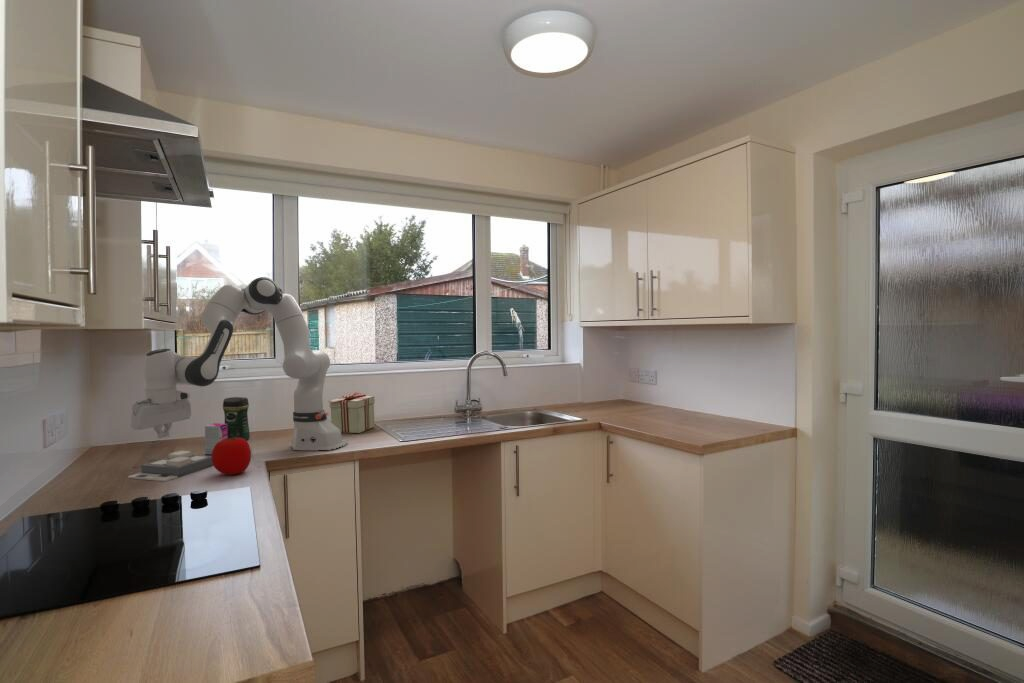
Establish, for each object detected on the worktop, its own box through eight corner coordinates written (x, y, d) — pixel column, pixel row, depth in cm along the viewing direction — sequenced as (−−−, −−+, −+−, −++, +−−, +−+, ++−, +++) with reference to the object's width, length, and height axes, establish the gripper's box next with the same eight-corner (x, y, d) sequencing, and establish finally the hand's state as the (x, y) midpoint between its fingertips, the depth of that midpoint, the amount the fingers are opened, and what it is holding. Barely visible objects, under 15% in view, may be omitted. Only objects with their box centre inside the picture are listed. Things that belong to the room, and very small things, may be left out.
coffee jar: (253, 438, 228) (251, 396, 227) (242, 442, 220) (240, 398, 219) (232, 437, 229) (230, 395, 228) (220, 442, 221) (219, 398, 220)
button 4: (208, 463, 185) (207, 456, 185) (196, 467, 181) (196, 460, 180) (196, 462, 187) (196, 455, 187) (184, 466, 182) (184, 459, 182)
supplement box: (219, 456, 198) (218, 426, 198) (204, 455, 199) (203, 426, 198) (228, 452, 204) (227, 423, 204) (214, 451, 205) (213, 422, 204)
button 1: (174, 467, 180) (174, 460, 180) (161, 471, 176) (161, 464, 176) (163, 466, 182) (163, 459, 182) (150, 470, 177) (149, 463, 177)
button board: (216, 464, 187) (215, 456, 187) (165, 481, 167) (165, 472, 167) (181, 461, 191) (181, 453, 191) (127, 477, 171) (127, 468, 171)
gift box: (340, 425, 254) (339, 390, 253) (376, 427, 251) (375, 391, 250) (322, 433, 237) (321, 395, 236) (360, 434, 234) (359, 396, 233)
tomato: (260, 470, 179) (259, 434, 178) (231, 480, 168) (230, 441, 167) (232, 467, 183) (231, 431, 183) (203, 476, 172) (202, 439, 172)
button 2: (191, 464, 179) (190, 457, 178) (178, 468, 174) (178, 461, 174) (179, 463, 180) (179, 456, 180) (166, 467, 175) (166, 460, 175)
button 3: (192, 458, 187) (191, 451, 187) (179, 461, 182) (179, 455, 182) (180, 457, 188) (180, 450, 188) (168, 460, 184) (168, 454, 184)
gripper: (140, 402, 166) (142, 445, 167) (193, 392, 186) (195, 431, 187) (124, 401, 168) (127, 444, 168) (179, 392, 188) (181, 430, 188)
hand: (163, 437), depth 178 cm, fingers closed
